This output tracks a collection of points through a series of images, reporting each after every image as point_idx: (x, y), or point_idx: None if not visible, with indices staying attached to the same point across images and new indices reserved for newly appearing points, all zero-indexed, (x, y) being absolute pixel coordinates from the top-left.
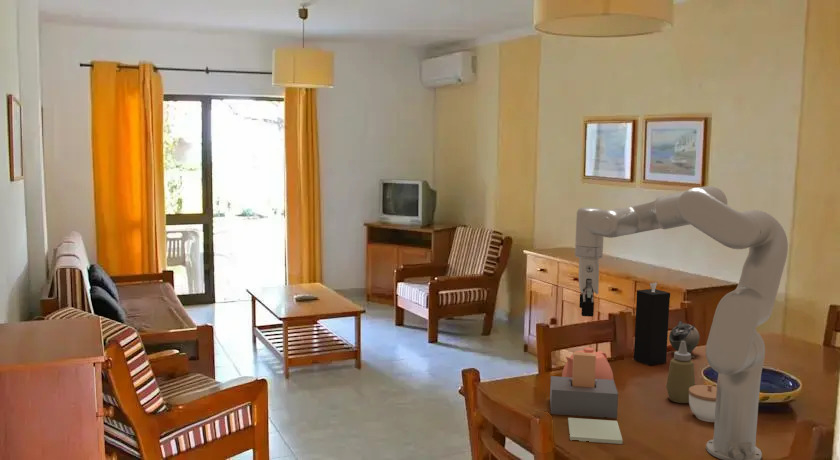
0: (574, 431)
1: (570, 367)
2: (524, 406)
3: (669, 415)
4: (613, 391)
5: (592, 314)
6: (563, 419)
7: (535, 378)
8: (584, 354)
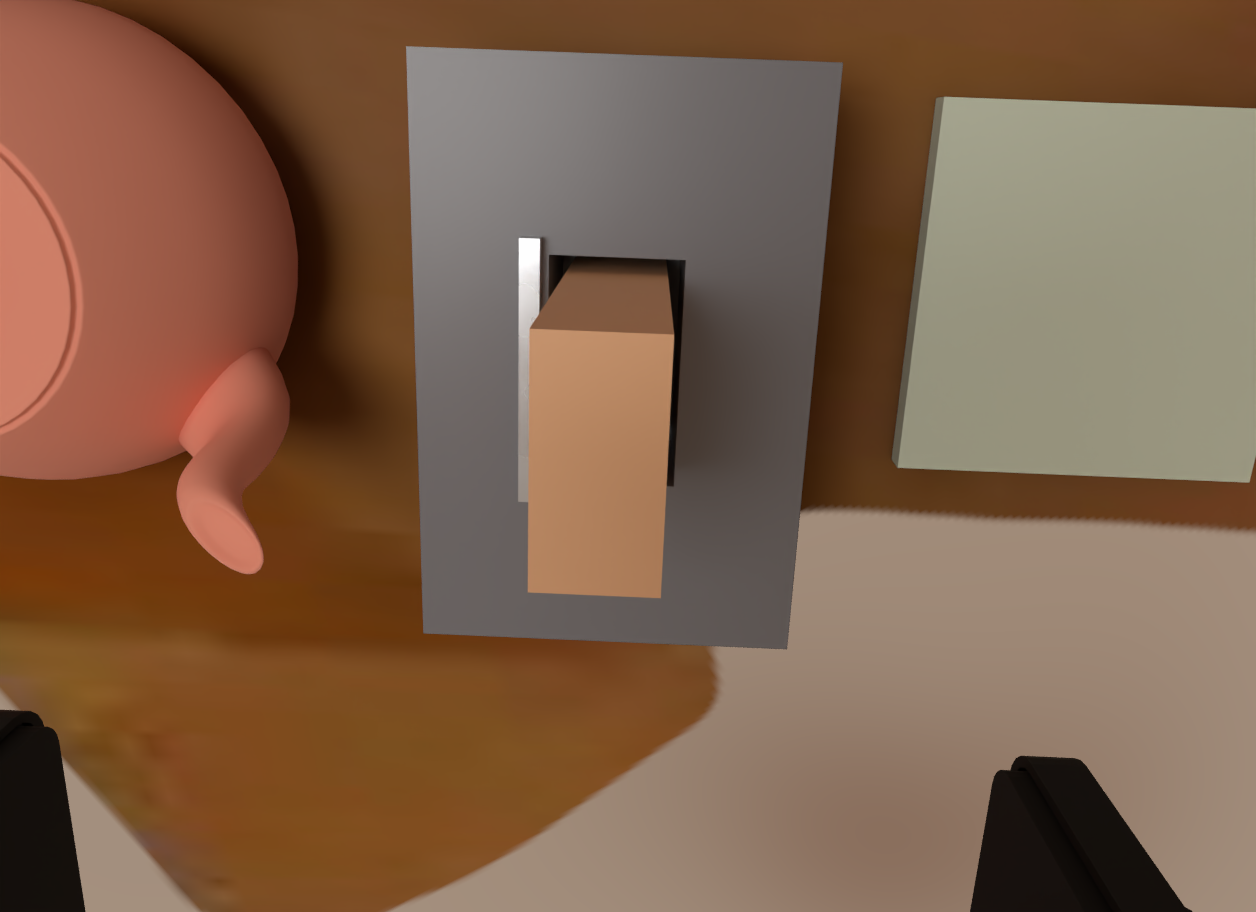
0: (1159, 446)
1: (253, 474)
2: (642, 719)
3: None
4: (773, 101)
5: (1093, 805)
6: (859, 486)
7: (24, 625)
8: (621, 472)
